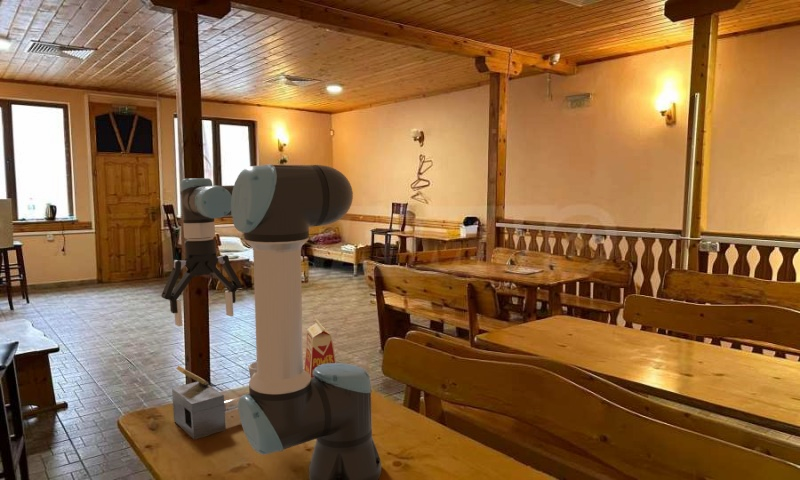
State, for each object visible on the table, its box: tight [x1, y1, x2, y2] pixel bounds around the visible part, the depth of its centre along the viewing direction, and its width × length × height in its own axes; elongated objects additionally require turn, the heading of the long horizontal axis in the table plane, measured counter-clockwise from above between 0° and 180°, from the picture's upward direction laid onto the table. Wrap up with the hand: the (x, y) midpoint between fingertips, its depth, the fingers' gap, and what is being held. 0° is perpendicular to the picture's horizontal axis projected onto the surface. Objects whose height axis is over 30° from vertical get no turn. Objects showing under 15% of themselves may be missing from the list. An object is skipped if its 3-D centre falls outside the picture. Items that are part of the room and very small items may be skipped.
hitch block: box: [171, 381, 227, 441], centre depth 140 cm, size 14×8×9 cm, turn 41°
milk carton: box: [303, 318, 337, 378], centre depth 166 cm, size 9×9×20 cm
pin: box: [224, 396, 241, 414], centre depth 144 cm, size 5×16×5 cm, turn 131°
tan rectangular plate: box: [176, 365, 210, 386], centre depth 143 cm, size 5×8×1 cm
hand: (205, 320), depth 143 cm, fingers open, 13 cm apart
